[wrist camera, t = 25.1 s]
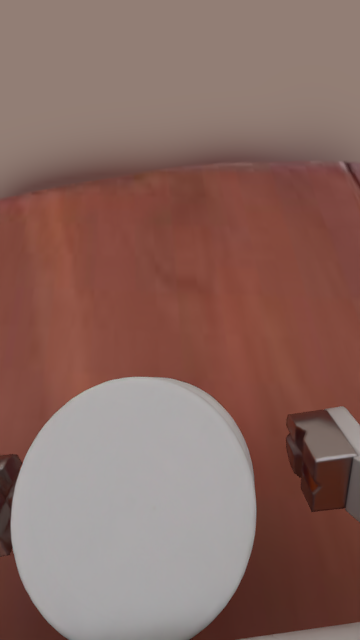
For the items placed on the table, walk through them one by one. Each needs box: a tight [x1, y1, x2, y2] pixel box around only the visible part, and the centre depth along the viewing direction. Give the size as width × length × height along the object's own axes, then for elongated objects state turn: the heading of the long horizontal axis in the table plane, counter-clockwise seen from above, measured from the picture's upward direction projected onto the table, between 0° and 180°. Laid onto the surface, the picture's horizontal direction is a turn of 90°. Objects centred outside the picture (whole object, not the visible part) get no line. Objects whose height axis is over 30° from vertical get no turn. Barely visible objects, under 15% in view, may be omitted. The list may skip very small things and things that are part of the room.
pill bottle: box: [11, 377, 257, 640], centre depth 9 cm, size 5×5×8 cm
